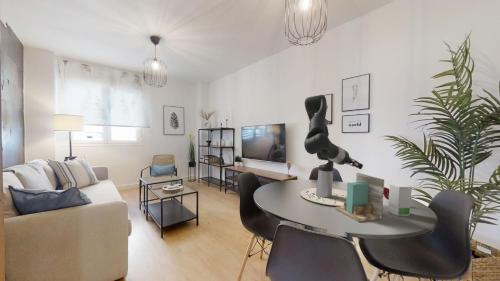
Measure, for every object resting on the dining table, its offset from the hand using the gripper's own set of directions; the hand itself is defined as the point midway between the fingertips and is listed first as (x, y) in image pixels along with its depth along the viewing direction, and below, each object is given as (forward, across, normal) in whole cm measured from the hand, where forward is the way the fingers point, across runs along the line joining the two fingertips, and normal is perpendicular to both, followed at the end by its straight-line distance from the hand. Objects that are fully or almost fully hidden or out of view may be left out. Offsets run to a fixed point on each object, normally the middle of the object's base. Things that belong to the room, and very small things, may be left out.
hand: (353, 163), depth 106 cm
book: (+12, -7, +22) cm, 26 cm away
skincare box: (+33, -17, +13) cm, 39 cm away
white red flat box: (+47, -9, +10) cm, 49 cm away
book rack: (+13, -7, +23) cm, 27 cm away
